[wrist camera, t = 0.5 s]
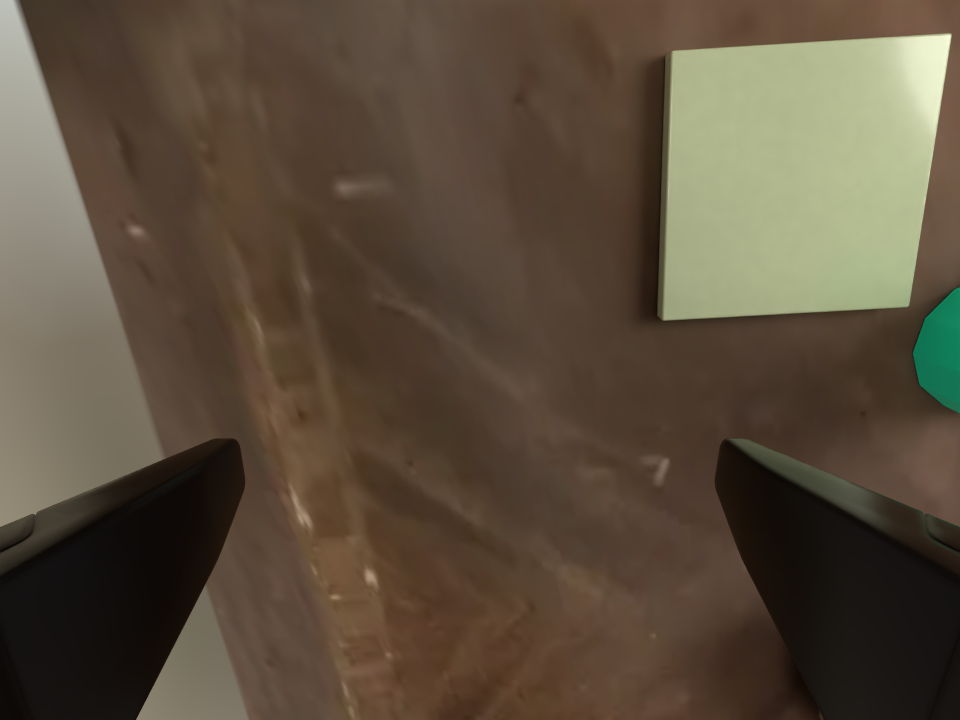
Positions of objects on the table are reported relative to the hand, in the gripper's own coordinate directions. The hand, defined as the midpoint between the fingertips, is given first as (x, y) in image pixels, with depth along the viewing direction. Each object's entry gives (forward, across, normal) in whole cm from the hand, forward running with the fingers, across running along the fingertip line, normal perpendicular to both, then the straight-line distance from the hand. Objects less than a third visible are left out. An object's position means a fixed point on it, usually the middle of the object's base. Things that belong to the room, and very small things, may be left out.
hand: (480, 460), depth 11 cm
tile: (+15, -12, -4) cm, 19 cm away
